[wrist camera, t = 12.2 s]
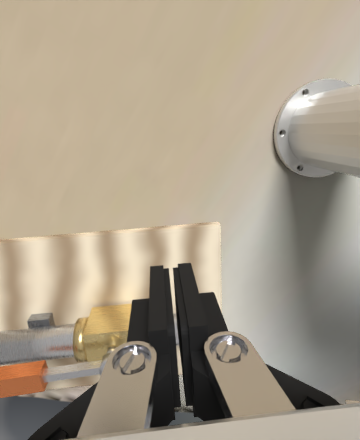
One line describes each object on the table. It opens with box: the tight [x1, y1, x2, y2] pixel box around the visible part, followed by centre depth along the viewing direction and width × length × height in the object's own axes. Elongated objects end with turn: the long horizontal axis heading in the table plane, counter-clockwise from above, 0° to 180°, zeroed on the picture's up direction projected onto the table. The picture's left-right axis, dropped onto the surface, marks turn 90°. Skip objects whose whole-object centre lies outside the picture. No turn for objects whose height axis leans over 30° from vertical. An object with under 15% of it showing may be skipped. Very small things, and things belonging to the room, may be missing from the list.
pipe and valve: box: [0, 304, 179, 365], centre depth 40 cm, size 30×6×8 cm, turn 94°
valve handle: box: [0, 352, 111, 398], centre depth 35 cm, size 3×15×2 cm, turn 96°
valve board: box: [0, 222, 222, 390], centre depth 44 cm, size 34×26×2 cm
